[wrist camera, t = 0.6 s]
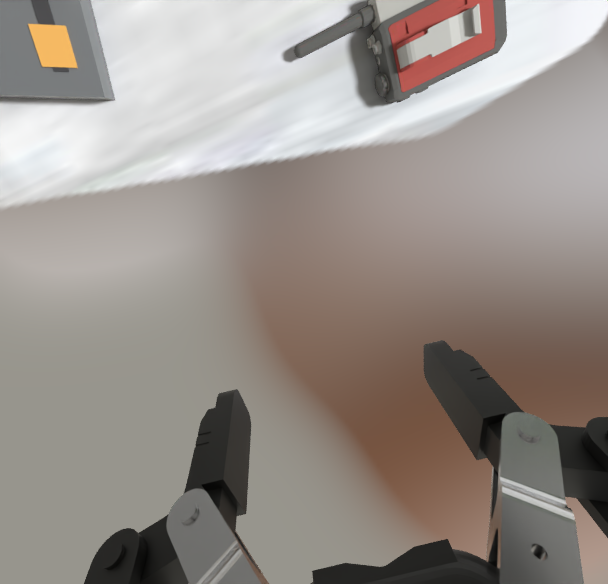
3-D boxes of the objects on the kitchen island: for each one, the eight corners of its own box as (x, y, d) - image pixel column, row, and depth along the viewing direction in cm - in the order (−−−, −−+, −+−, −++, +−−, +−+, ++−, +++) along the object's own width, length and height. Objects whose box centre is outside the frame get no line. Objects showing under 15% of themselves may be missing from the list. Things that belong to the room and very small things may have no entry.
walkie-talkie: (489, -62, 26) (289, 44, 28) (528, -96, 22) (293, 28, 24) (497, 53, 30) (322, 138, 32) (530, 40, 26) (329, 138, 28)
